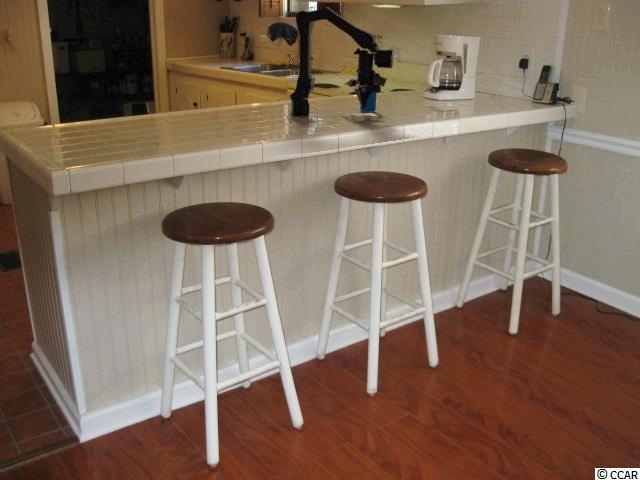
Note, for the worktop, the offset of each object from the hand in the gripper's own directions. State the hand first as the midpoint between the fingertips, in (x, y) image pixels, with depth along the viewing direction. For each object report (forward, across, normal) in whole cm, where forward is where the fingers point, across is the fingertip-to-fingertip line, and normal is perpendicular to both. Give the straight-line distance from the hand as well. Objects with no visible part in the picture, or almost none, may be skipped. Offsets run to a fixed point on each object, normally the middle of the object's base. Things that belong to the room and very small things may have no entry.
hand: (363, 107), depth 248 cm
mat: (+5, 0, 0) cm, 5 cm away
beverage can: (+5, +16, -9) cm, 19 cm away
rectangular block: (+3, +2, 0) cm, 4 cm away
